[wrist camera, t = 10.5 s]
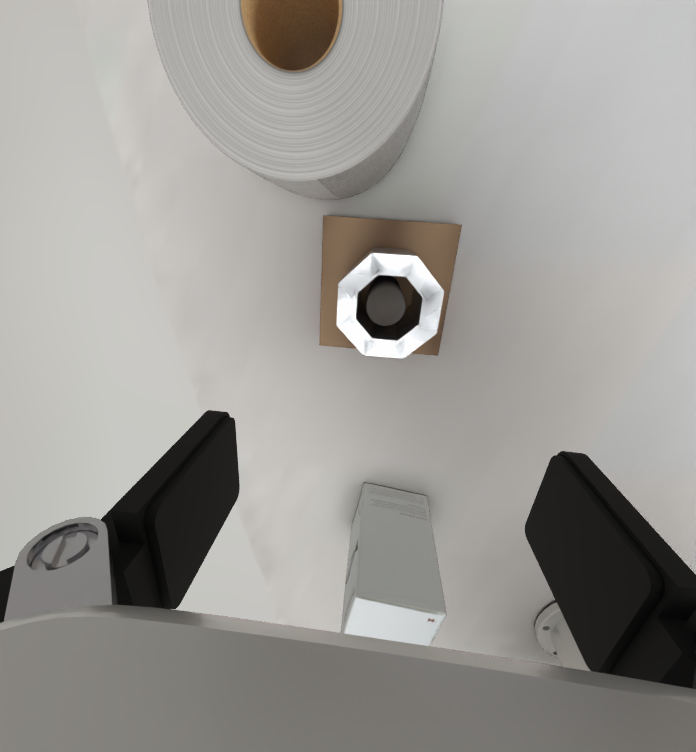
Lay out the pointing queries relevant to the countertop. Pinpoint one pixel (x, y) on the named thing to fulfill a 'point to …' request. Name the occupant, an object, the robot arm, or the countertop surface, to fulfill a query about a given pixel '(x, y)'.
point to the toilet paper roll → (302, 83)
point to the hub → (417, 317)
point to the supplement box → (393, 569)
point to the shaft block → (384, 292)
